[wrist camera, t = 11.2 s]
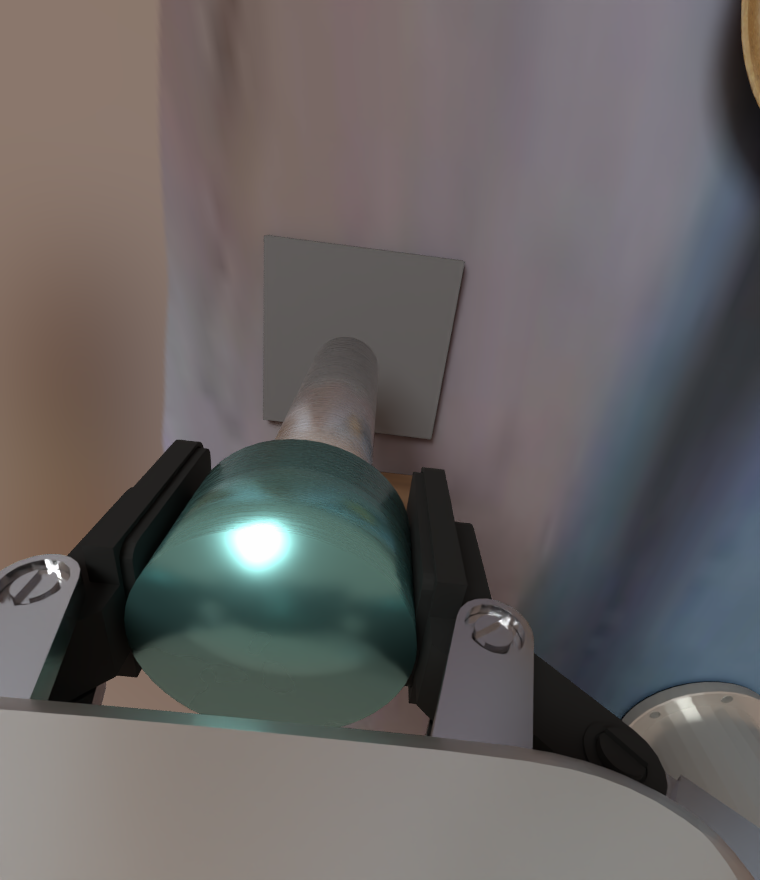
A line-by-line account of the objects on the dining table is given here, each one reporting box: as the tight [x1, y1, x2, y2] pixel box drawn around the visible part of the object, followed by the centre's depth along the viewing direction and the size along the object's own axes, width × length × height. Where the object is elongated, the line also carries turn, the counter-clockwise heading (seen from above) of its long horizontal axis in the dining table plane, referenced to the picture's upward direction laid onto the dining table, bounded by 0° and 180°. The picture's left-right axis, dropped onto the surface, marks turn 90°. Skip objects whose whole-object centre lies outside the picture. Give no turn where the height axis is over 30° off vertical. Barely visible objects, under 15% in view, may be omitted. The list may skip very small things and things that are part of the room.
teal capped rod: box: [124, 337, 417, 727], centre depth 15 cm, size 5×5×15 cm
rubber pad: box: [263, 235, 465, 439], centre depth 25 cm, size 10×10×1 cm
